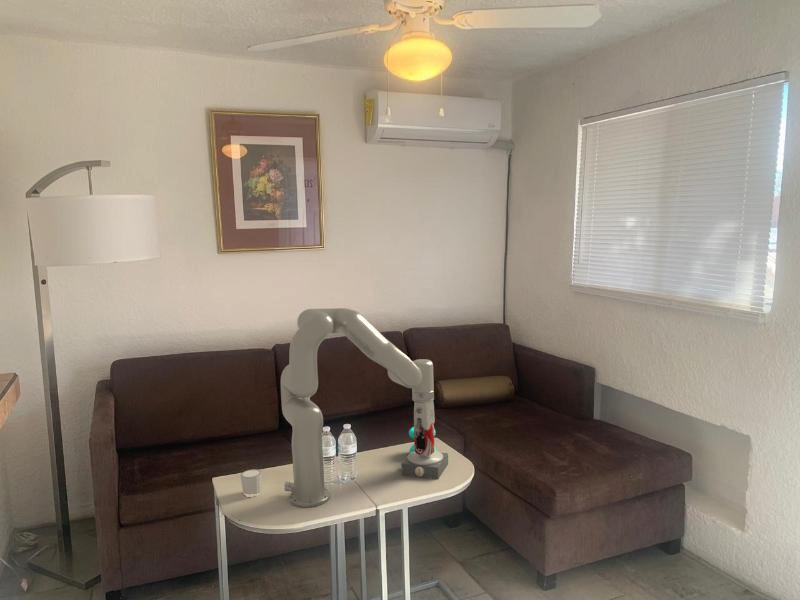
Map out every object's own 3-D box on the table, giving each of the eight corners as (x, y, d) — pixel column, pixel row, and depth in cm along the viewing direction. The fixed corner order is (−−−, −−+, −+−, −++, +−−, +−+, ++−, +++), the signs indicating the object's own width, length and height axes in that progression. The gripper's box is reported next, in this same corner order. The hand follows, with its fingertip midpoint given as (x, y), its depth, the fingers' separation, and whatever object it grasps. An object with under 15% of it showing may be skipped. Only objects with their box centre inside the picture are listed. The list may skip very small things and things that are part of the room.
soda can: (435, 457, 196) (434, 423, 195) (414, 457, 197) (413, 424, 195) (434, 449, 203) (433, 417, 202) (414, 450, 204) (413, 417, 202)
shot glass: (254, 500, 182) (252, 479, 181) (237, 496, 185) (235, 475, 184) (267, 491, 188) (266, 470, 187) (251, 487, 191) (249, 467, 190)
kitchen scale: (401, 475, 196) (400, 462, 196) (413, 460, 209) (413, 447, 208) (437, 479, 192) (437, 466, 191) (448, 464, 205) (447, 451, 204)
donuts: (437, 432, 209) (409, 434, 208) (437, 458, 210) (410, 460, 209) (433, 423, 219) (407, 425, 218) (434, 448, 220) (408, 450, 219)
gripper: (426, 403, 188) (427, 455, 190) (440, 389, 205) (441, 437, 207) (404, 401, 191) (406, 452, 193) (420, 388, 207) (421, 435, 209)
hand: (424, 444), depth 200 cm, fingers closed on soda can, 7 cm apart
